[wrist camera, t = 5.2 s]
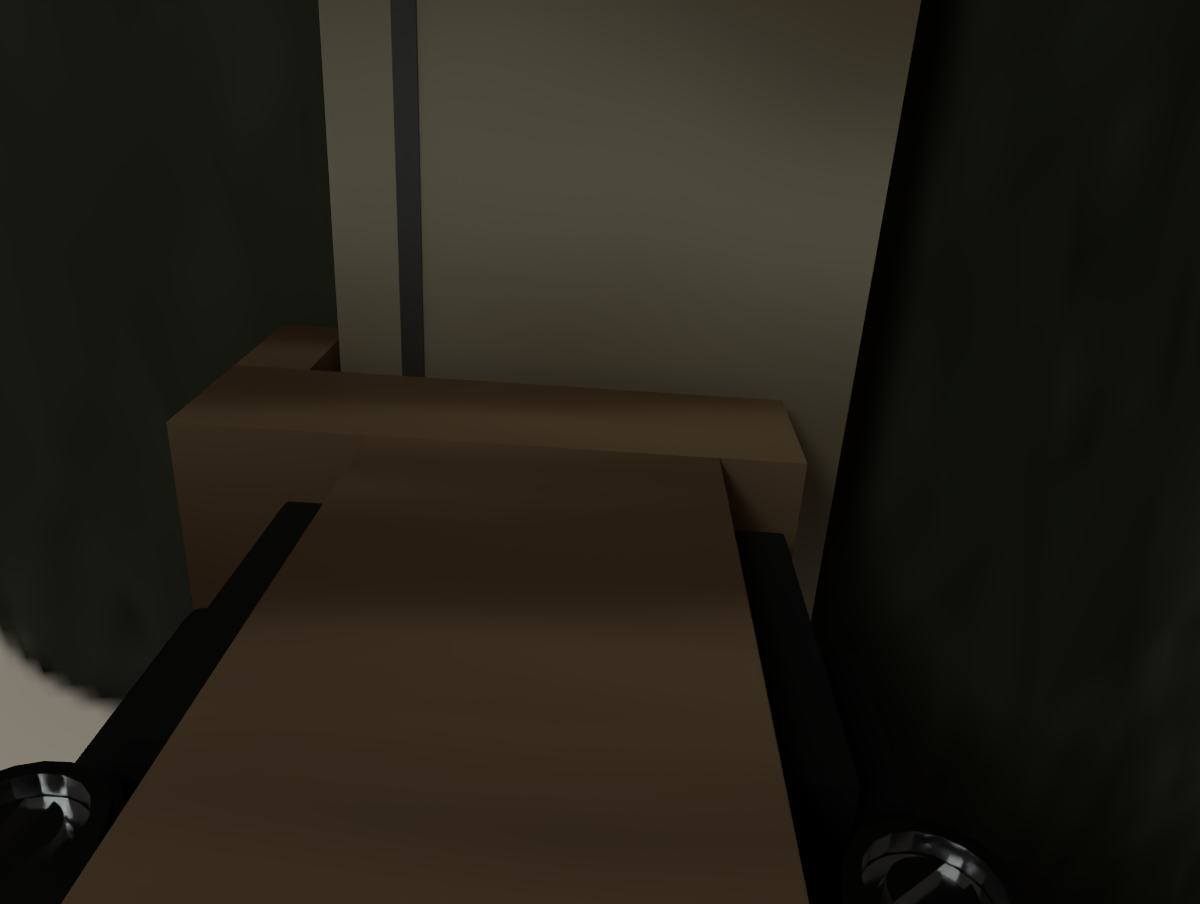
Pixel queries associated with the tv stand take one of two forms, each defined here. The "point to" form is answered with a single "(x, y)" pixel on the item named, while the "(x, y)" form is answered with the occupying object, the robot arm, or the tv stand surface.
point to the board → (618, 197)
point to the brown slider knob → (470, 648)
